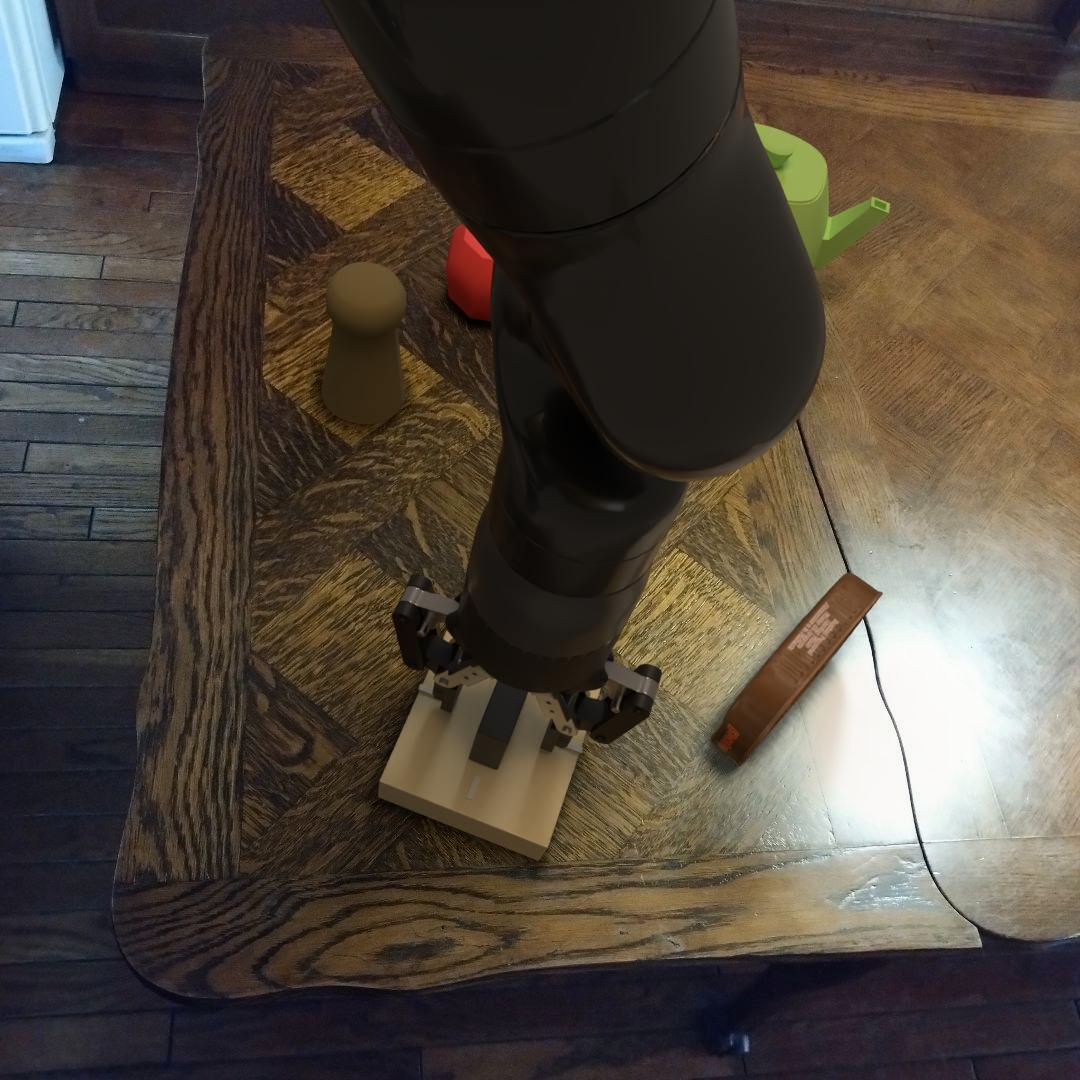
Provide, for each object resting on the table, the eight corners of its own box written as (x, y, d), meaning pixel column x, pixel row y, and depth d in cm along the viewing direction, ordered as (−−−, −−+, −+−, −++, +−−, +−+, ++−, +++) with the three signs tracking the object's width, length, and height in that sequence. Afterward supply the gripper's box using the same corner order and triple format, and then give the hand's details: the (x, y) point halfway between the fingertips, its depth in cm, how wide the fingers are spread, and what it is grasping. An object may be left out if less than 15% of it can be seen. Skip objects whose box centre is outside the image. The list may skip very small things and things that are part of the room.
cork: (303, 393, 71) (297, 280, 62) (358, 347, 74) (361, 233, 65) (368, 438, 70) (372, 331, 61) (421, 389, 73) (433, 280, 64)
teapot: (845, 254, 89) (913, 135, 79) (824, 356, 82) (896, 239, 71) (637, 181, 90) (676, 52, 79) (598, 275, 82) (635, 147, 72)
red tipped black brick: (497, 771, 56) (509, 742, 52) (467, 759, 56) (477, 730, 52) (531, 680, 59) (545, 646, 55) (503, 669, 59) (515, 635, 55)
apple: (455, 344, 76) (466, 266, 69) (427, 270, 79) (435, 189, 73) (551, 330, 78) (571, 254, 72) (520, 259, 82) (536, 180, 75)
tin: (724, 786, 61) (775, 739, 54) (686, 751, 62) (730, 700, 55) (850, 636, 68) (909, 577, 61) (814, 606, 69) (867, 545, 62)
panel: (540, 862, 57) (550, 848, 54) (375, 796, 57) (377, 779, 54) (600, 683, 63) (611, 662, 60) (452, 625, 63) (457, 602, 61)
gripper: (365, 585, 41) (359, 728, 55) (687, 711, 41) (598, 822, 55) (433, 453, 45) (411, 618, 59) (727, 566, 45) (634, 705, 59)
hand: (501, 715), depth 57 cm, fingers open, 5 cm apart
